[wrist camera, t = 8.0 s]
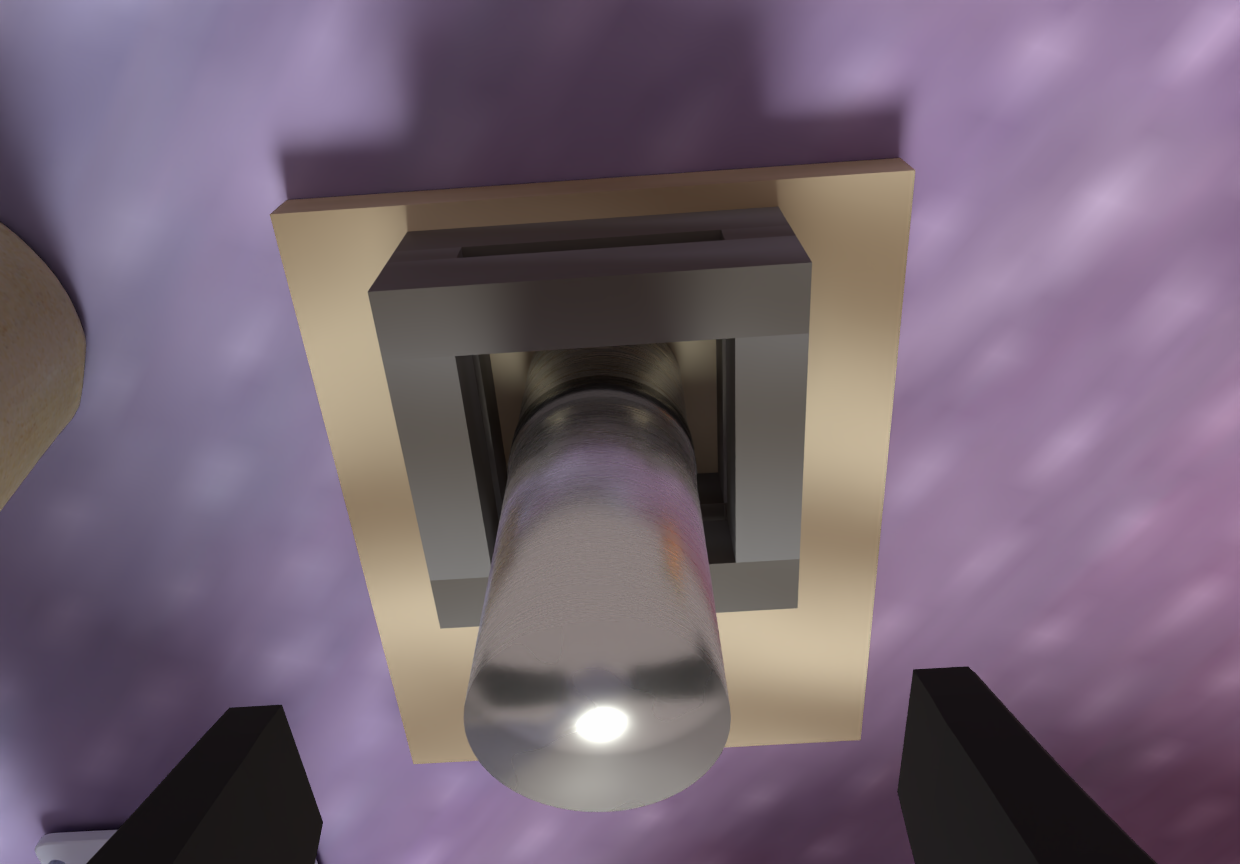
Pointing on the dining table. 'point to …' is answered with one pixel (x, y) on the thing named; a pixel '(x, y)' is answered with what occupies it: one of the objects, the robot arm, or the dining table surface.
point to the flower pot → (34, 360)
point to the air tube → (599, 593)
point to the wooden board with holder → (612, 316)
